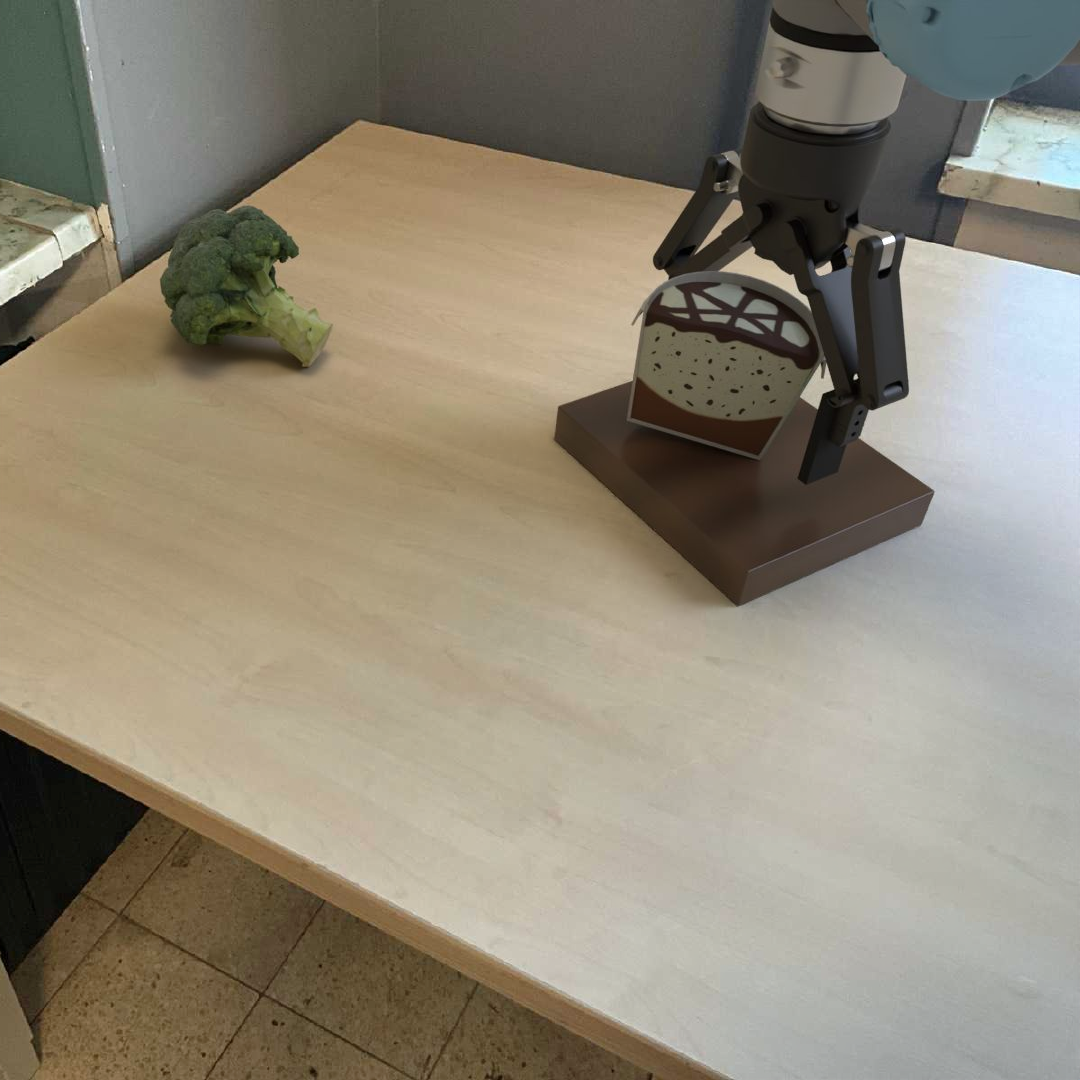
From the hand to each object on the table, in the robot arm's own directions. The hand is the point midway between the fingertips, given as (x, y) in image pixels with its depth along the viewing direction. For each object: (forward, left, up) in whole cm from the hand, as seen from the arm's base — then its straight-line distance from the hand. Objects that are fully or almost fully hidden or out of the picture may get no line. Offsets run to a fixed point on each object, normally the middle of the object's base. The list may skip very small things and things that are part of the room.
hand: (744, 421), depth 78 cm
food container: (+4, 0, -2) cm, 4 cm away
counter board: (0, 0, -5) cm, 5 cm away
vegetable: (+33, +22, -5) cm, 40 cm away
